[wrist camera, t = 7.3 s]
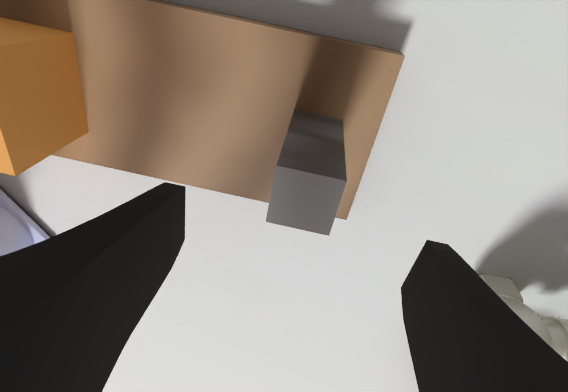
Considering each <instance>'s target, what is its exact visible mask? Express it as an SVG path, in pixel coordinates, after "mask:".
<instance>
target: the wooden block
mask: <svg viewBox="0 0 568 392" xmlns="http://www.w3.org/2000/svg"><path fill="white" fill-rule="evenodd" d="M0 17H2V18H6V19H11V20H15V21H20V22H25V23H29V24H34V25H38V26H43V27H48V28H52V29H57V30H61V31H66V32H71V33H73V36H74V42H75V49H76V55H77V61H78V68H79V74H80V80H81V87H82V93H83V100H84V106H85V112H86V119H87V125H88V131H89V132H88V133H86V134H85V135H83V136H81V137H80V138H78V139H76V140H75V141H73V142H71V143H70V144H68V145H66V146H65V147H63V148H61V149H60V150H58V151H56V152H55V153H53V154H51V155H55V156H59V157H64V158H68V159H73V160H78V161H82V162H87V163H91V164H96V165H100V166H105V167H109V168H114V169H118V170H123V171H127V172H132V173H136V174H141V175H145V176H150V177H154V178H159V179H164V180H168V181H173V182H177V183H182V184H186V185H191V186H195V187H200V188H204V189H209V190H213V191H218V192H222V193H227V194H231V195H236V196H241V197H245V198H250V199H254V200H259V201H263V202H268V203H269V207H268V213H267V218H266V222H270V223H274V224H279V225H283V226H288V227H292V228H297V229H301V230H306V231H310V232H315V233H319V234H324V235H328V236H329V234H330V231H331V228H332V225H333V222H334V219H335V217H336V218H340V219H345V220H347V217H348V214H349V211H350V208H351V206H352V203H353V200H354V197H355V194H356V192H357V189H358V186H359V183H360V180H361V178H362V175H363V172H364V169H365V166H366V164H367V161H368V158H369V155H370V152H371V149H372V147H373V144H374V141H375V138H376V135H377V133H378V130H379V127H380V124H381V121H382V119H383V116H384V113H385V110H386V107H387V105H388V102H389V99H390V96H391V93H392V90H393V88H394V85H395V82H396V79H397V76H398V74H399V71H400V68H401V65H402V62H403V60H404V57H405V56H404V55H403V54H402V53H401V52H398V51H393V50H388V49H384V48H379V47H375V46H370V45H365V44H361V43H356V42H351V41H347V40H342V39H337V38H333V37H328V36H324V35H319V34H314V33H310V32H305V31H300V30H296V29H291V28H286V27H282V26H277V25H272V24H268V23H263V22H259V21H254V20H249V19H245V18H240V17H235V16H231V15H226V14H221V13H217V12H212V11H208V10H203V9H198V8H194V7H189V6H184V5H180V4H175V3H170V2H166V1H161V0H0Z"/></svg>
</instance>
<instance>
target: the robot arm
mask: <svg viewBox="0 0 568 392" xmlns="http://www.w3.org/2000/svg"><path fill="white" fill-rule="evenodd" d="M184 240H185V187H184V186H180V185H175V184H171V183H166V182H165V183H163V184H160V185H158V186H156V187H154V188H153V189H151V190H149V191H147V192H145V193H143V194H141V195H139V196H137V197H135V198H134V199H132V200H130V201H128V202H126V203H124V204H122V205H120V206H118V207H116V208H114V209H112V210H110V211H108V212H106V213H104V214H102V215H100V216H98V217H96V218H94V219H92V220H89V221H87V222H85V223H83V224H81V225H79V226H76V227H74V228H72V229H70V230H68V231H66V232H63V233H61V234H58V235H56V236H54V237H51V238H50V237H49V236H48V235H47V234H46V233H45V232H44V231H43V230H42V229H41V228H40V227H39V226H38V225H37V224H36V223H35V222H34V221H33V220H32V219H31V218H30V217H29V216H28V215H27V214H26V213H25V212H24V211H23V210H22V209H21V208H20V207H19V206H17V205H16V204H15V203H14V202H13V201H12V200H11V199H10V198H9V197H8V196H7V195H6V194H5V193H4V192H3V191H2V190H1V189H0V392H102V390H103V388H104V386H105V384H106V382H107V380H108V378H109V376H110V374H111V372H112V370H113V368H114V366H115V364H116V362H117V360H118V358H119V356H120V354H121V352H122V350H123V348H124V346H125V344H126V342H127V341H128V339H129V337H130V335H131V333H132V332H133V330H134V329H135V327H136V325H137V324H138V322H139V321H140V319H141V317H142V316H143V314H144V312H145V311H146V309H147V308H148V306H149V304H150V303H151V301H152V300H153V298H154V296H155V295H156V293H157V292H158V290H159V288H160V287H161V285H162V283H163V282H164V280H165V278H166V277H167V275H168V273H169V272H170V270H171V268H172V266H173V264H174V262H175V260H176V258H177V256H178V253H179V251H180V249H181V246H182V244H183V242H184ZM401 294H402V309H403V319H404V324H405V329H406V334H407V339H408V344H409V348H410V353H411V357H412V362H413V366H414V371H415V375H416V380H417V384H418V389H419V392H568V361H566V360H565V359H564V358H563V357H562V356H561V355H559V354H558V353H557V352H556V351H555V350H554V349H553V348H552V347H551V346H549V345H548V344H547V343H546V342H545V341H544V340H543V339H542V338H541V337H540V336H539V335H538V334H537V333H536V332H534V331H533V330H532V329H531V328H530V327H529V326H528V325H527V324H526V323H525V322H524V321H523V320H522V319H521V318H520V317H519V316H518V315H517V314H516V313H515V312H514V311H513V310H512V309H511V308H510V307H509V306H508V305H507V304H506V303H505V302H504V301H503V300H502V299H501V298H500V297H499V296H498V295H497V294H496V293H495V292H494V291H493V290H492V289H491V288H490V287H489V286H488V285H487V284H486V283H485V281H484V280H483V279H482V278H481V277H480V276H479V275H478V274H477V273H476V272H475V271H474V270H473V269H472V268H471V267H470V266H469V265H468V264H467V263H466V262H465V261H464V260H463V259H462V257H461V256H460V255H459V254H458V253H456V252H455V251H454V250H453V249H452V248H451V247H450V246H449V245H448V244H443V243H439V242H434V241H430V240H427V241H426V243H425V245H424V247H423V248H422V250H421V252H420V254H419V256H418V257H417V259H416V261H415V263H414V265H413V267H412V268H411V270H410V272H409V274H408V276H407V278H406V279H405V281H404V283H403V285H402V287H401Z"/></svg>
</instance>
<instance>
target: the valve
mask: <svg viewBox="0 0 568 392" xmlns="http://www.w3.org/2000/svg"><path fill="white" fill-rule="evenodd" d="M479 276H480V277H481V278H482V279H483V280H484V281H485V283H486V284H487V285H488V286H489V287H490V288H491V289H492V290H493V291H494V292H495V293H496V294H497V295H498V296H499V297H500V298H501V299H502V300H503V301H504V302H505V303H506V304H507V305H508V306H509V307H510V308H511V309H512V310H513V311H514V312H515V313H516V314H517V315H518V316H519V317H520V318H521V319H522V320H523V321H524V322H525V323H526V324H527V325H528V326H529V327H530V328H531V329H532V330H533V331H534V332H536V333H537V334H538V335H539V336H540V337H541V338H542V339H543V340H544V341H545V342H546V343H547V344H548V345H549V346H551V347H552V348H553V349H554V350H555V351H556V352H557V353H558V354H559V355H561V356H562V357H563V358H564V359H565V360H566V361H568V320H567V319H562V318H556V317H545V318H543V319H541V318H540V317H539V316H538V315H537V314H536V313H535V312H534V311H533V310H532V309H530V308H529V307H528V306H527V305H525V304H523V297H522V296H521V294H520V292H519V291H518V289H517V287H516V286H515V284H514V282H513V281H512V279H510V278H506V277H500V276H494V275H488V274H480V275H479Z"/></svg>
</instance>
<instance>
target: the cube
mask: <svg viewBox="0 0 568 392" xmlns="http://www.w3.org/2000/svg"><path fill="white" fill-rule="evenodd" d="M88 132H89V131H88V125H87V119H86V112H85V106H84V100H83V93H82V87H81V80H80V74H79V68H78V61H77V55H76V49H75V42H74V36H73V33H71V32H66V31H61V30H57V29H52V28H48V27H43V26H38V25H34V24H29V23H25V22H20V21H15V20H11V19H6V18H2V17H0V173H4V174H8V175H13V176H16V175H18V174H20V173H21V172H23V171H25V170H26V169H28V168H30V167H31V166H33V165H35V164H36V163H38V162H40V161H41V160H43V159H45V158H46V157H48V156H50V155H51V154H53V153H55V152H56V151H58V150H60V149H61V148H63V147H65V146H66V145H68V144H70V143H71V142H73V141H75V140H76V139H78V138H80V137H81V136H83V135H85V134H86V133H88Z"/></svg>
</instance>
